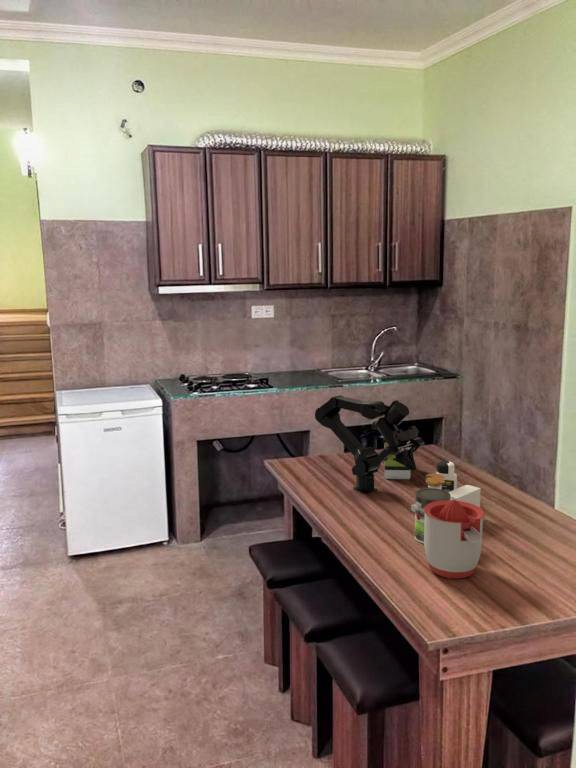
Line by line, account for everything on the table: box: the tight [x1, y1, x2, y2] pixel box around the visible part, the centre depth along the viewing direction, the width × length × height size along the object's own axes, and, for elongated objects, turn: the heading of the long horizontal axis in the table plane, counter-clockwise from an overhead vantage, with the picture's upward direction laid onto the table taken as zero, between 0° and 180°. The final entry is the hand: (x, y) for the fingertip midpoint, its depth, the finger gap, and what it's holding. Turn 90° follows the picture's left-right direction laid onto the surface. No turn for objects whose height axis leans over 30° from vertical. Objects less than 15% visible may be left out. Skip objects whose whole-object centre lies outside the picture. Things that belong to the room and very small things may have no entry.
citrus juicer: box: [423, 500, 485, 580], centre depth 179 cm, size 16×17×20 cm
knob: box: [425, 473, 444, 490], centre depth 221 cm, size 6×6×10 cm
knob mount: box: [410, 484, 481, 513], centre depth 219 cm, size 19×13×10 cm
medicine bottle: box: [435, 460, 458, 492], centre depth 237 cm, size 7×7×12 cm
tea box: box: [383, 440, 412, 480], centre depth 262 cm, size 15×10×15 cm, turn 172°
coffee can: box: [413, 487, 451, 545], centre depth 201 cm, size 10×10×14 cm
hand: (415, 470), depth 226 cm, fingers closed
